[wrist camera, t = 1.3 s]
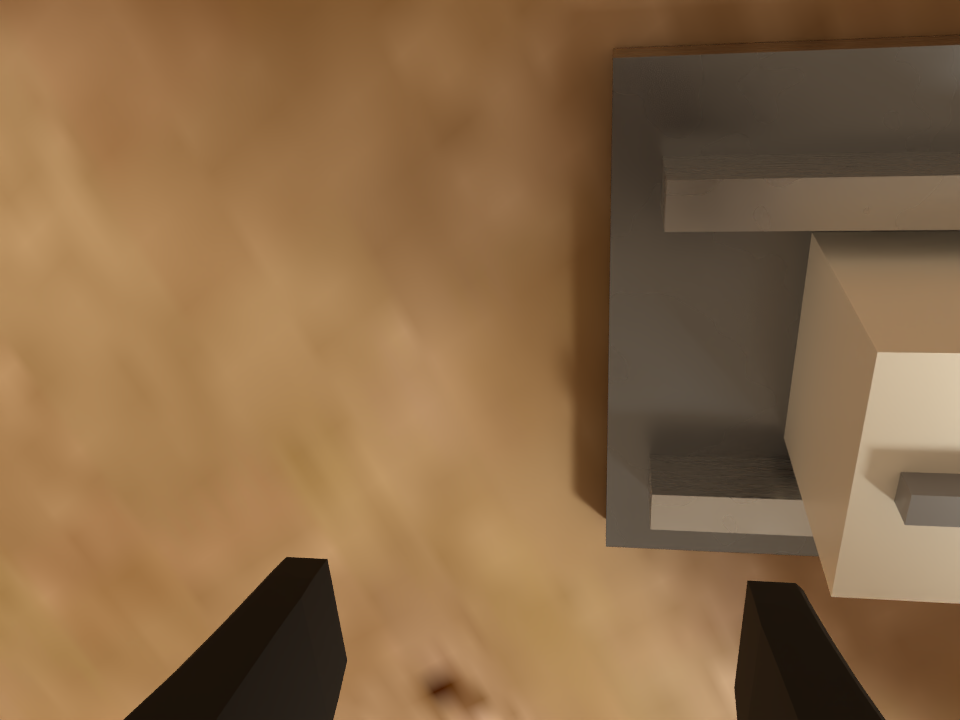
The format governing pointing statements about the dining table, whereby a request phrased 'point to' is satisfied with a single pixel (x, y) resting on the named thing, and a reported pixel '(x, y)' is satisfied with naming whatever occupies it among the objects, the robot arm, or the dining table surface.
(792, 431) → the beige cardboard box
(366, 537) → the dining table surface
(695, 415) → the dock
